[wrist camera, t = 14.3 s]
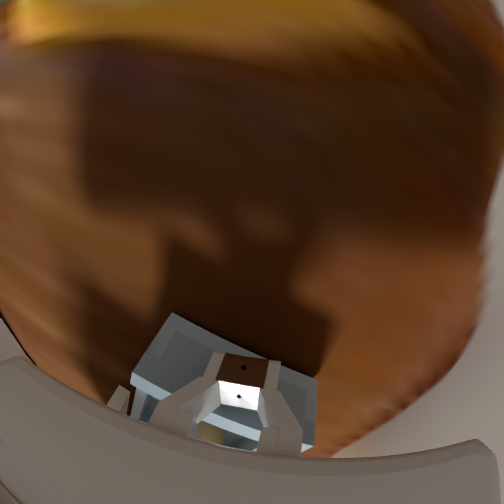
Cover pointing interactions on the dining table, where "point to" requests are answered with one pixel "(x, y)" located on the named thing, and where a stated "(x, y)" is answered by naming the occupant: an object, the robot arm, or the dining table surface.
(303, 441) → the tray
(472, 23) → the dining table surface
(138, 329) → the dining table surface
